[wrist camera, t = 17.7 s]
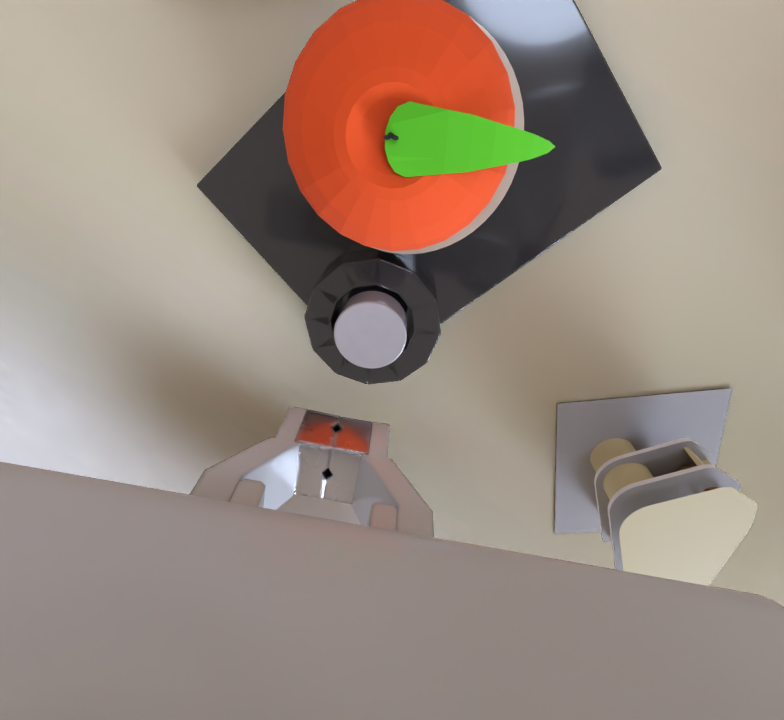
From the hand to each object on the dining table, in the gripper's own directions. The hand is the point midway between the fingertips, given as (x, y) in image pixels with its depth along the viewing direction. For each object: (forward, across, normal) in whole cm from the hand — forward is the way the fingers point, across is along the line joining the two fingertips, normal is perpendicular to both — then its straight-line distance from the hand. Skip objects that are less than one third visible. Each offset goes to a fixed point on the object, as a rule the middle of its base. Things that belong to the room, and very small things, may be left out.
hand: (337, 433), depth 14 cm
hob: (+11, -1, -6) cm, 13 cm away
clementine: (+8, -1, -8) cm, 12 cm away
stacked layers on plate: (+11, -17, +7) cm, 21 cm away
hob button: (+9, 0, 0) cm, 9 cm away
